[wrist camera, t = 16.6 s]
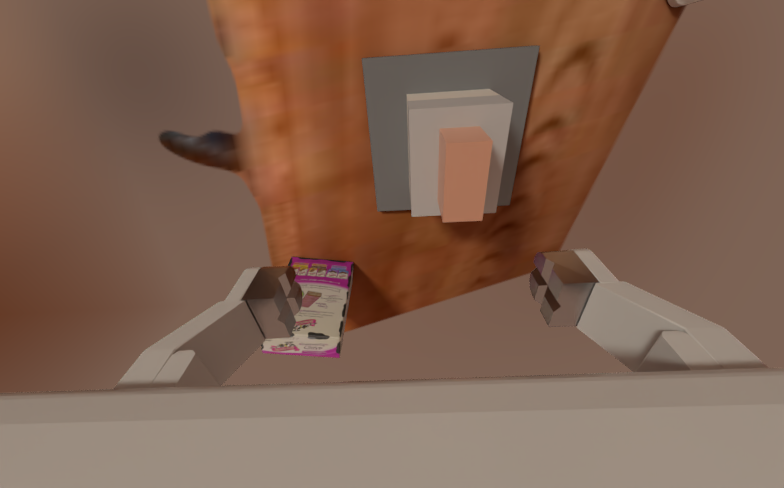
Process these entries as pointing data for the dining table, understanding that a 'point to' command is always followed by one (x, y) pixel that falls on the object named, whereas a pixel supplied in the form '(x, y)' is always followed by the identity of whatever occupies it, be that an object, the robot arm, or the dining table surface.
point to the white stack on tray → (444, 119)
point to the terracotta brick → (463, 173)
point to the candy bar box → (317, 309)
